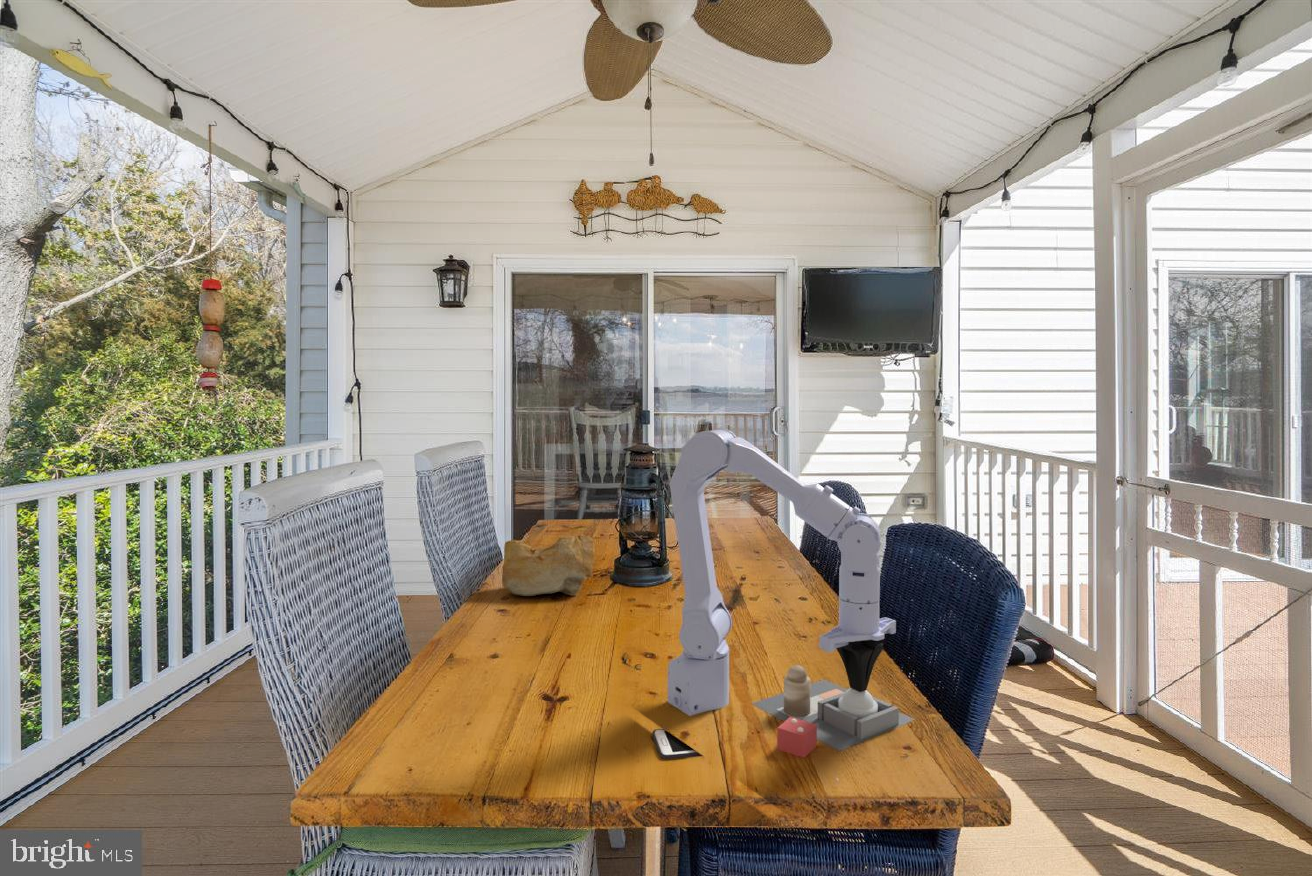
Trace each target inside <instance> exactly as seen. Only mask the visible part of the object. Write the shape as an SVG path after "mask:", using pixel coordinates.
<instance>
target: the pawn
mask: <svg viewBox="0 0 1312 876" xmlns="http://www.w3.org/2000/svg"><path fill="white" fill-rule="evenodd" d="M786 674H787V675H785V676H784V677H783V693H784V712H785V713H786V714H788V715H790V716H794V717H804V716H807V715H809V714H810V686H811V684H812V683H811V682H812V681H811V678H810V677H809V676H808V673H807V670H806V669H805V668H804V667H803V666H802V665H799V664H795V665H792V666H790V667H789V668H788V670H787V673H786Z"/></svg>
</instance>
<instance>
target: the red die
mask: <svg viewBox="0 0 1312 876" xmlns="http://www.w3.org/2000/svg"><path fill="white" fill-rule="evenodd" d="M776 730H777V731H776V732H777V733H776V735H777V736H776V738H777V739H776V750H779V751H782V752H785V753H786V754H787V753H788V754H791V755H794V756H797V757H800V758H803V759H805V758H806V757H807V756H808V755H809V754H810V753H811V752H812V751H813V750H814V749H816V748H817V742H818V741H817V724H813V723H810V722H806V721H803V720H799V719H796V718H792V717H789V718H788V719H787V720H786V721H785V722H784V721H782V723H781V724H780V725H778V727H777V728H776Z"/></svg>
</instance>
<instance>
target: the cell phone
mask: <svg viewBox="0 0 1312 876" xmlns="http://www.w3.org/2000/svg"><path fill="white" fill-rule="evenodd" d="M651 737H652V739H653V742H654V744H655V746H656V751H657V753H658V754H659V758H660V759H662V760H677V759H686V758H696V757H697V758H698V757H704V755H703V754H701V753H700V752H698V750H695V749H694V748H692V746H690V745H688V744H687V743H685V742H684V741H682V740H681V739H680V738H678V737H677V736H675V735H674V734H672V733H671V732H669V731H668V730H666V729H665V728H658V729H653V731H652V736H651Z"/></svg>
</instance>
